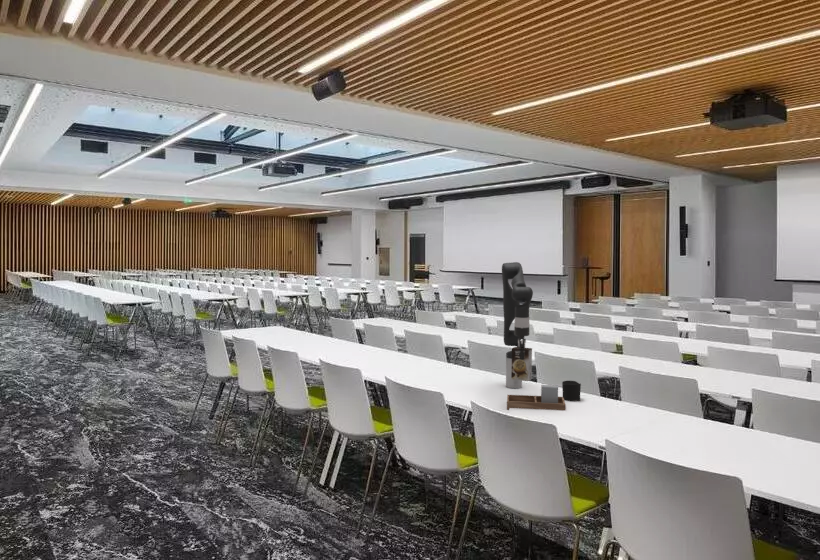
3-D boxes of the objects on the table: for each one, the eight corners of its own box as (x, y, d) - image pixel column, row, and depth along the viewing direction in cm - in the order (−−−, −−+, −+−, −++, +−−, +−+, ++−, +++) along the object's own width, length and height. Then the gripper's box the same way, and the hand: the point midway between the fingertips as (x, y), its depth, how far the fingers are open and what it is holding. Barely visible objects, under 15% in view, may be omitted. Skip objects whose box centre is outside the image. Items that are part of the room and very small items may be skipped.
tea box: (541, 404, 298) (541, 384, 298) (557, 404, 297) (557, 385, 296) (541, 406, 293) (541, 387, 293) (557, 407, 292) (558, 387, 291)
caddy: (507, 402, 306) (507, 394, 306) (563, 404, 301) (563, 396, 301) (507, 409, 292) (507, 401, 291) (565, 412, 286) (565, 404, 286)
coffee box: (510, 379, 296) (511, 348, 295) (514, 377, 302) (514, 346, 301) (528, 381, 292) (528, 349, 291) (532, 379, 297) (532, 347, 297)
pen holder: (560, 402, 306) (560, 383, 305) (564, 398, 314) (564, 379, 313) (578, 404, 301) (578, 385, 301) (582, 400, 309) (582, 381, 309)
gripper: (514, 324, 303) (514, 355, 304) (514, 327, 289) (514, 360, 290) (529, 324, 302) (528, 355, 303) (529, 328, 288) (529, 361, 289)
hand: (521, 358), depth 296 cm, fingers closed on coffee box, 7 cm apart
